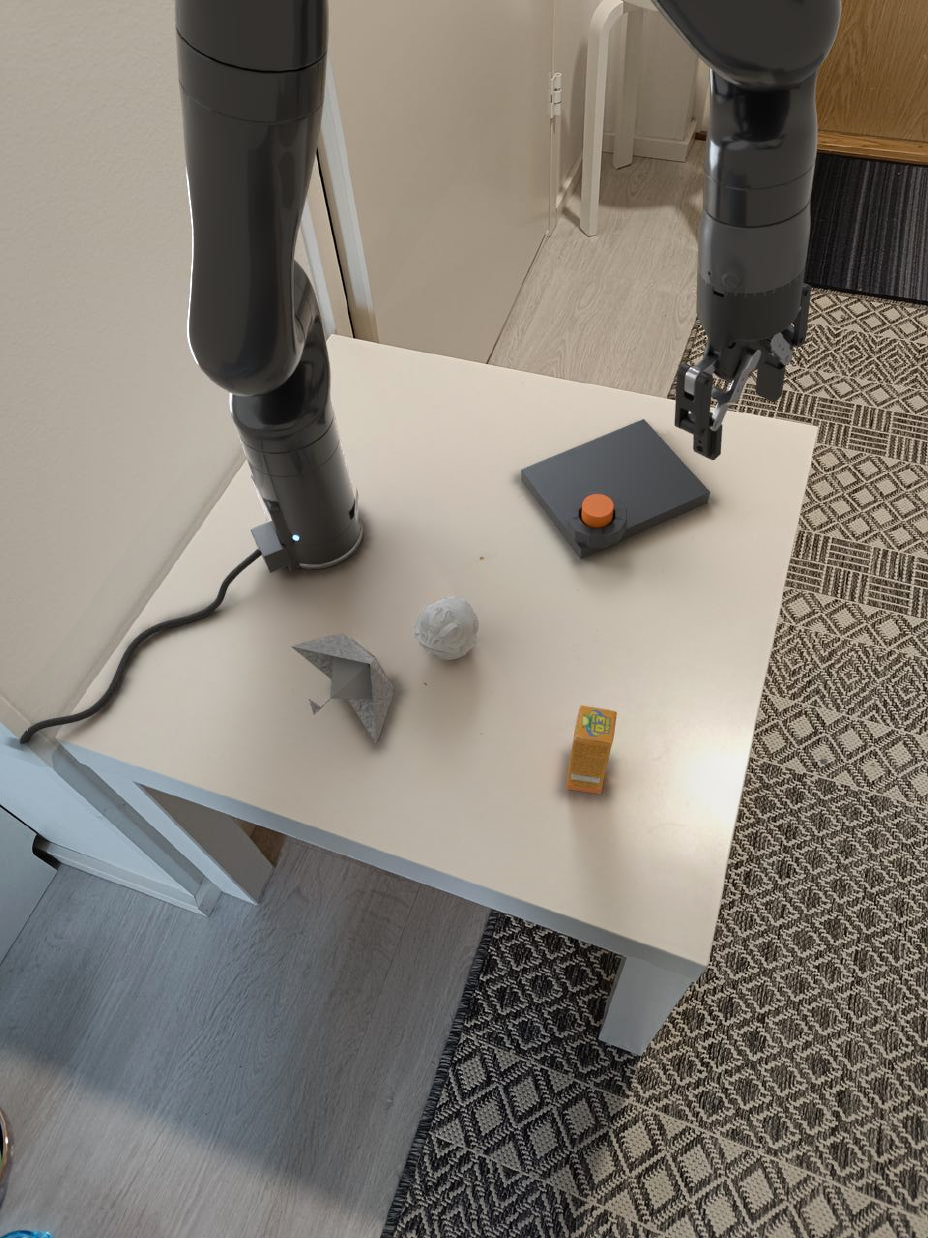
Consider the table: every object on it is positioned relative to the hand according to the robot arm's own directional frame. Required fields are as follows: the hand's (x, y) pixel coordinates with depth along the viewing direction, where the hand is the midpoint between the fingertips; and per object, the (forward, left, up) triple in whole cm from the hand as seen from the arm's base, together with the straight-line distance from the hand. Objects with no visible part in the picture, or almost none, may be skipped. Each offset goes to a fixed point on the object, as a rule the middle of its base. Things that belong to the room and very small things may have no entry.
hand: (738, 425), depth 78 cm
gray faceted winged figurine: (-39, +3, -19) cm, 44 cm away
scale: (-3, +13, -19) cm, 23 cm away
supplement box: (-23, -15, -19) cm, 33 cm away
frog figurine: (-28, +3, -19) cm, 34 cm away
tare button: (-8, +8, -16) cm, 20 cm away
